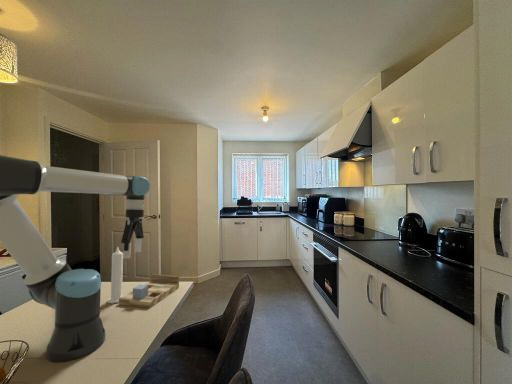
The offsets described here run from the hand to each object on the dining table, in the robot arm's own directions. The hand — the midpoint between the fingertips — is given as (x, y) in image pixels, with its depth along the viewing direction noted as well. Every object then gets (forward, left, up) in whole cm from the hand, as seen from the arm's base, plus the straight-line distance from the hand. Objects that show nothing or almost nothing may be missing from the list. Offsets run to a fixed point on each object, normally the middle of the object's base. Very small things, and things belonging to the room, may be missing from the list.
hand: (132, 254), depth 107 cm
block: (+1, -4, -19) cm, 20 cm away
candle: (+1, +9, -22) cm, 24 cm away
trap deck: (+9, -4, -22) cm, 24 cm away
